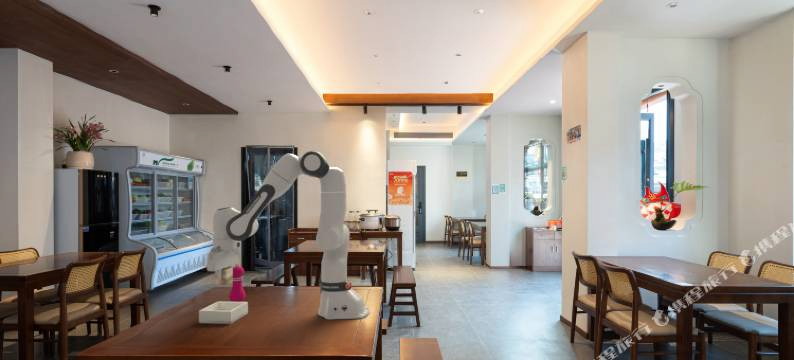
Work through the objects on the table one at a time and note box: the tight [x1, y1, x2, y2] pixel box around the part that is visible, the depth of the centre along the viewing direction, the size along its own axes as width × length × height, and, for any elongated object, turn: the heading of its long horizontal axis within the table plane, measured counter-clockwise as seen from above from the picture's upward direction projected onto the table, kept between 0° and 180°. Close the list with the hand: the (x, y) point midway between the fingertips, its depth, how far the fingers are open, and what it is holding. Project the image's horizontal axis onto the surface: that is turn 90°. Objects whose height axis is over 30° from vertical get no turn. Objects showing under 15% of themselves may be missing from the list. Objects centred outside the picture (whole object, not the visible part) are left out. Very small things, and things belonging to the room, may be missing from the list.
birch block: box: [214, 267, 233, 286], centre depth 173 cm, size 5×5×6 cm
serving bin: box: [198, 300, 249, 325], centre depth 173 cm, size 14×14×5 cm
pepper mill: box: [228, 262, 246, 302], centre depth 191 cm, size 7×7×20 cm
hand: (224, 277), depth 173 cm, fingers closed on birch block, 5 cm apart
